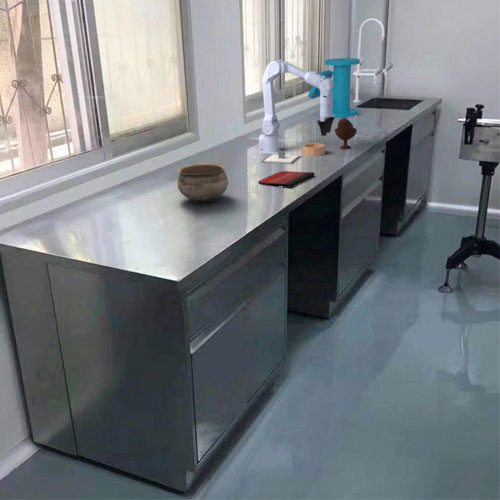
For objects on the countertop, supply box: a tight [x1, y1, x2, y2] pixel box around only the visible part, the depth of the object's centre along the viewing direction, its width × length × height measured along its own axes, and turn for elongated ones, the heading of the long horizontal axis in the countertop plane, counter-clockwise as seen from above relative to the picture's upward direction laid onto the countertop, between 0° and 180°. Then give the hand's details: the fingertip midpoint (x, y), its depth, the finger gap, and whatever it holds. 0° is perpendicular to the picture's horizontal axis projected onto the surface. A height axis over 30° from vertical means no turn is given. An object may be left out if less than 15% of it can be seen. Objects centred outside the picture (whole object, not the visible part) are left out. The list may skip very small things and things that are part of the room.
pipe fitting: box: [308, 57, 361, 118], centre depth 383 cm, size 22×32×35 cm
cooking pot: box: [177, 162, 229, 204], centre depth 219 cm, size 25×19×12 cm
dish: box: [302, 142, 326, 157], centre depth 283 cm, size 10×10×4 cm
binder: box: [257, 170, 315, 190], centre depth 243 cm, size 16×2×21 cm
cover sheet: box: [263, 150, 300, 164], centre depth 275 cm, size 13×13×4 cm
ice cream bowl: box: [334, 117, 358, 150], centre depth 292 cm, size 11×11×15 cm
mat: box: [260, 154, 303, 165], centre depth 275 cm, size 16×16×1 cm
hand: (325, 134), depth 279 cm, fingers open, 7 cm apart
